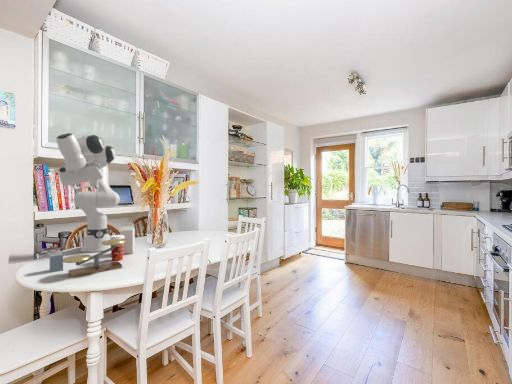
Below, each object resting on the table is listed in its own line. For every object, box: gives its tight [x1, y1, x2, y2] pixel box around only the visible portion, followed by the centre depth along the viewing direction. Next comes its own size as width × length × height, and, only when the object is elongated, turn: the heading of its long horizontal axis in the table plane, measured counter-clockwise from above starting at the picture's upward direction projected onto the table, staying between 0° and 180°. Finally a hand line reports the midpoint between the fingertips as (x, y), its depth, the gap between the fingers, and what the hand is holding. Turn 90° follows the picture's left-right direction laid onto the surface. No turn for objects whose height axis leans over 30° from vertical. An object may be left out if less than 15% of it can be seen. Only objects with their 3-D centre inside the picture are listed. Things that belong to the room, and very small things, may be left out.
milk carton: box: [119, 222, 136, 255], centre depth 160 cm, size 7×7×19 cm
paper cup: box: [110, 234, 125, 262], centre depth 145 cm, size 8×8×14 cm
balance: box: [63, 239, 126, 279], centre depth 127 cm, size 11×27×14 cm, turn 133°
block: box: [49, 252, 64, 273], centre depth 126 cm, size 5×5×8 cm
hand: (88, 189), depth 135 cm, fingers open, 8 cm apart
